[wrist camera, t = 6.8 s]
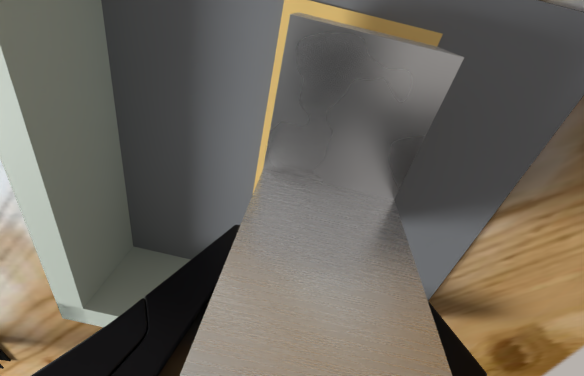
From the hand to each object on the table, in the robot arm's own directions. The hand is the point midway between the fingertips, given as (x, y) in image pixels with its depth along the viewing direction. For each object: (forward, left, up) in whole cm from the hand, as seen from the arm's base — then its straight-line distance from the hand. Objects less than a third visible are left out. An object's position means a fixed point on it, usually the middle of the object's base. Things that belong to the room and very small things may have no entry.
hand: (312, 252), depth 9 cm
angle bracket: (0, -2, -3) cm, 3 cm away
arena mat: (+1, 0, -5) cm, 5 cm away
